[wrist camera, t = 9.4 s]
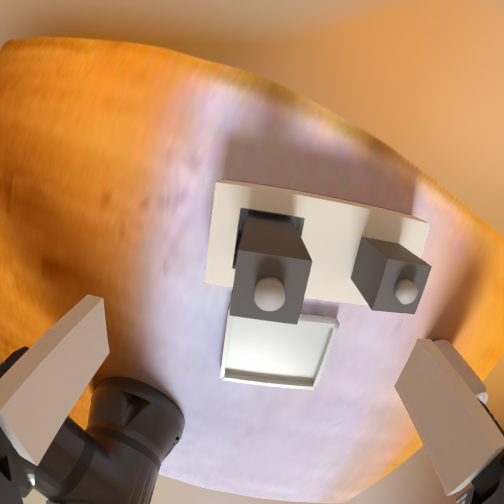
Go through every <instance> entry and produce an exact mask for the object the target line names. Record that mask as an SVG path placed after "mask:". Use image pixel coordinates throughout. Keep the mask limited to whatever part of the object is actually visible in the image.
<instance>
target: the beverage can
mask: <svg viewBox="0 0 504 504" xmlns="http://www.w3.org/2000/svg"><path fill="white" fill-rule="evenodd" d="M433 343H434V344H435V345H436V346H437V348H438V349H439V350H440V351H441V352H442V354H443V355H444V356H445V357H446V359H447V360H448V361H449V362H450V364H451V365H452V366H453V367H454V369H455V370H456V371H457V372H458V374H459V375H460V376H461V378H462V379H463V380H464V381H465V383H466V384H467V385H468V387H469V388H470V389H471V391H472V392H473V393H474V395H475V396H476V397H477V398H478V399H479V400H481V401H482V402H483V403H484V404H486V402H487V399H488V394H487V393H486V387H485V385H484V384H483V382H482V381H481V380H480V378H479V377H478V376H477V375H476V373H475V372H474V371H473V370H472V368H471V367H470V366H469V365H468V364H467V362H466V361H465V360H464V359H463V357H462V356H461V355H460V354H459V353H458V351H457V350H456V349H455V348H454V347H453V346H452V344H451V343H450V342H449V341H447V340H444V339H441V340H437V341H434V342H433Z"/></svg>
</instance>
